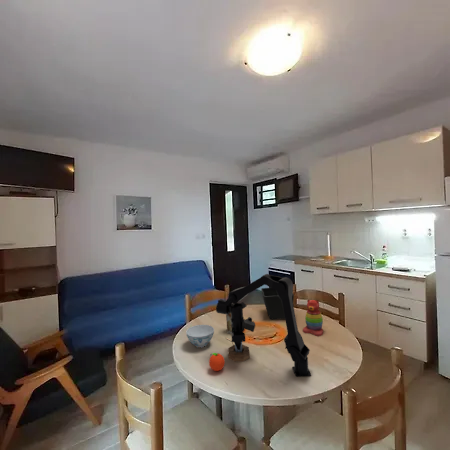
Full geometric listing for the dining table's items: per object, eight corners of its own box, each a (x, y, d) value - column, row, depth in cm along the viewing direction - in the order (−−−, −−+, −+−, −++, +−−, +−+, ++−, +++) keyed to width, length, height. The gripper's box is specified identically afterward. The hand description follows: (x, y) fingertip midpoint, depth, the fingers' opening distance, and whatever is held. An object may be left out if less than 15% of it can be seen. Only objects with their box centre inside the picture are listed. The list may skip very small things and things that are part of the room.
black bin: (265, 322, 164) (264, 295, 163) (262, 311, 182) (260, 287, 182) (295, 321, 163) (294, 294, 162) (289, 310, 182) (287, 286, 181)
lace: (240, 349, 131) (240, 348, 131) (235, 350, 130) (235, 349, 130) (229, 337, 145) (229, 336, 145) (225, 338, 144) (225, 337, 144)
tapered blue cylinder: (242, 353, 123) (241, 335, 123) (235, 354, 123) (234, 335, 123) (242, 350, 127) (241, 332, 127) (235, 350, 127) (234, 332, 127)
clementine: (204, 369, 115) (203, 353, 115) (216, 362, 120) (215, 347, 120) (216, 376, 110) (216, 360, 109) (228, 369, 114) (227, 353, 114)
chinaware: (194, 354, 128) (193, 339, 128) (182, 343, 141) (181, 329, 140) (220, 345, 136) (219, 331, 136) (206, 335, 149) (205, 322, 149)
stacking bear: (301, 332, 147) (300, 301, 147) (308, 325, 155) (307, 296, 154) (320, 337, 140) (318, 304, 140) (326, 330, 148) (325, 299, 147)
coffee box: (244, 329, 154) (242, 303, 154) (242, 334, 148) (240, 306, 148) (229, 328, 156) (227, 302, 156) (226, 333, 150) (225, 306, 150)
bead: (250, 361, 120) (249, 354, 120) (228, 361, 120) (228, 355, 120) (248, 350, 130) (248, 344, 130) (228, 350, 130) (228, 345, 130)
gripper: (255, 322, 115) (257, 357, 116) (251, 308, 134) (253, 338, 134) (230, 324, 115) (232, 358, 116) (230, 309, 134) (232, 339, 134)
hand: (238, 347), depth 125 cm, fingers closed on tapered blue cylinder, 4 cm apart
